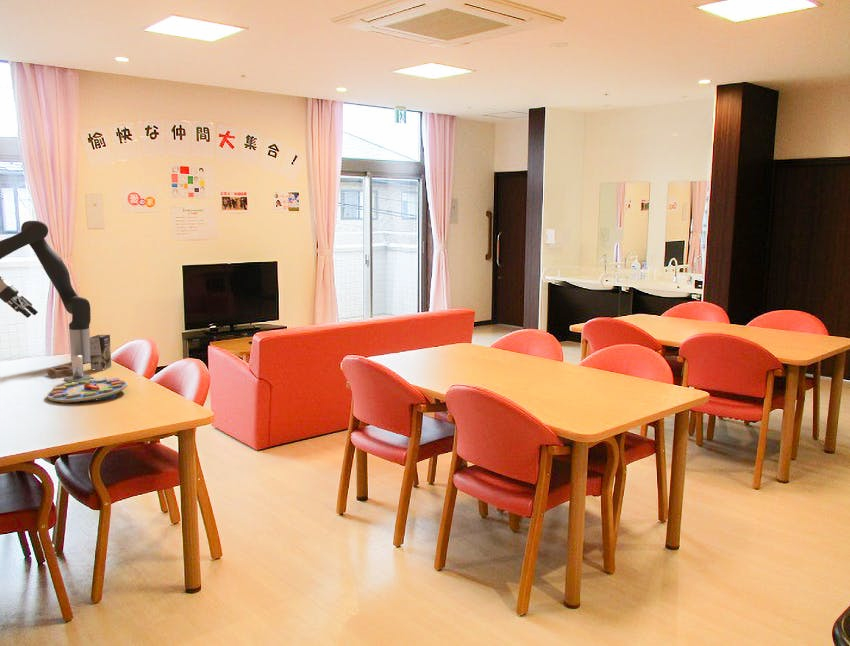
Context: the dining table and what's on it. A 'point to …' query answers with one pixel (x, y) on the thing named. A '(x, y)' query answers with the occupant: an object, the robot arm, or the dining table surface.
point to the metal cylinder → (77, 366)
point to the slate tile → (78, 379)
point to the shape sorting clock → (87, 390)
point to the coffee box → (100, 352)
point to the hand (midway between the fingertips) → (33, 315)
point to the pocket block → (60, 371)
